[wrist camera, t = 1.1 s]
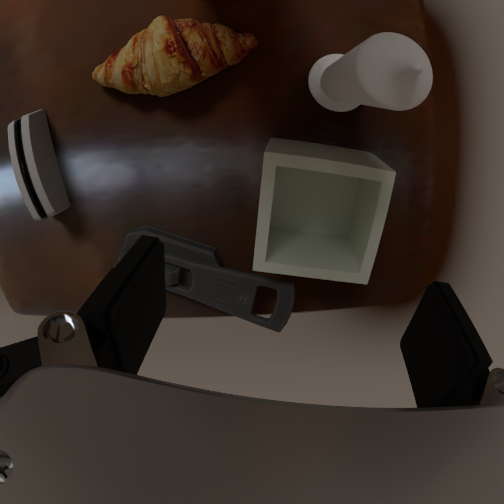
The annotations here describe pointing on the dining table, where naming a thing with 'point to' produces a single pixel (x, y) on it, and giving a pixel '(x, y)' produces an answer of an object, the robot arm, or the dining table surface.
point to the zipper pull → (215, 279)
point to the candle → (373, 75)
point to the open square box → (321, 211)
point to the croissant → (173, 56)
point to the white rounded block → (36, 166)
